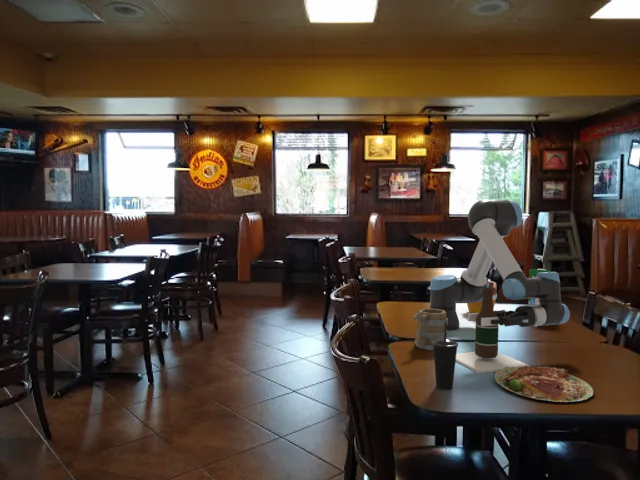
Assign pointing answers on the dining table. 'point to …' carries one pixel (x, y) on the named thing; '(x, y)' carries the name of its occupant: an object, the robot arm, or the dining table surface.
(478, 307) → the bucket of meat
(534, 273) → the milk carton
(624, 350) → the dining table surface
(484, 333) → the beer bottle
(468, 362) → the square board
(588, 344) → the dining table surface
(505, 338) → the dining table surface
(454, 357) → the drinking cup
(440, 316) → the tankard
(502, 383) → the rice dish
